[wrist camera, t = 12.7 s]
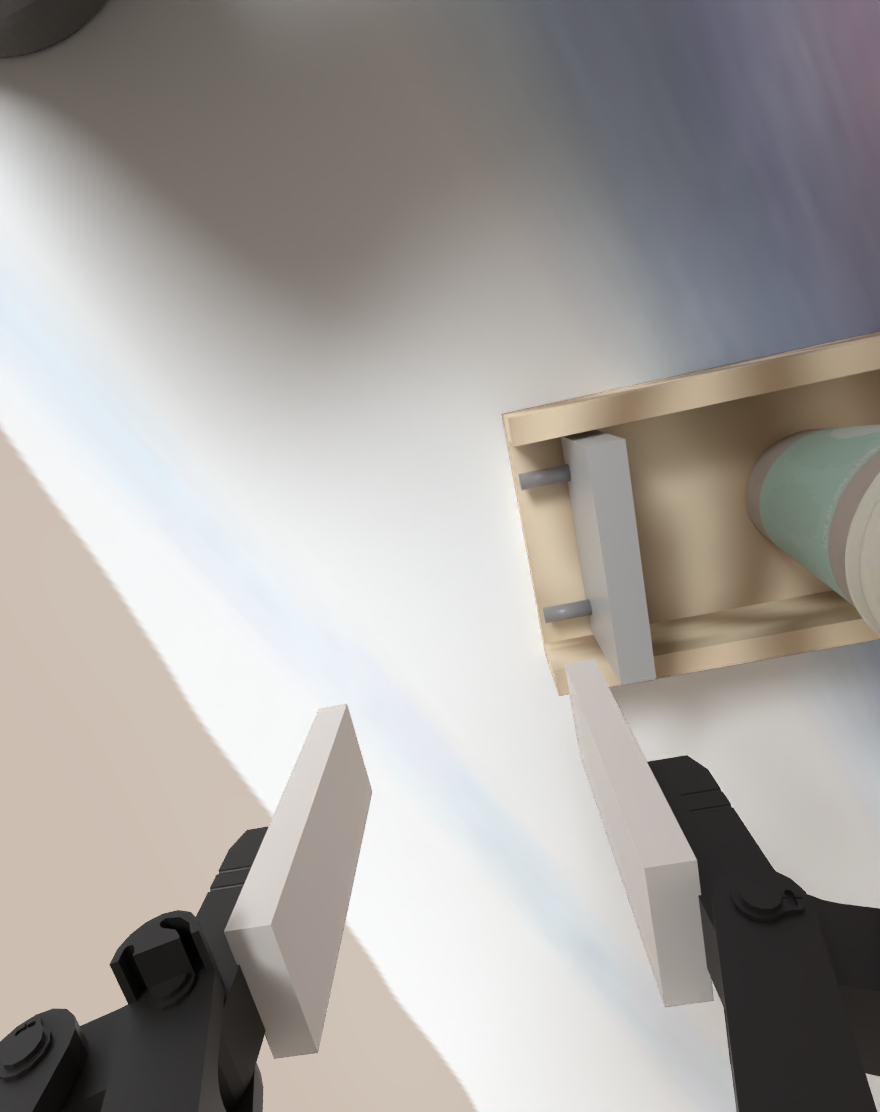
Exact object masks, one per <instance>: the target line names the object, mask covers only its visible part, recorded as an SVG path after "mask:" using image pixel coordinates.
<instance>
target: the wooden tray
mask: <svg viewBox="0 0 880 1112" xmlns="http://www.w3.org/2000/svg"><path fill="white" fill-rule="evenodd" d="M502 418H503V424H504V429H505V435H506V440H507V446H508V451H509V457H510V462H511V468H512V473H513V479H514V484H515V489H516V495H517V500H518V506H519V511H520V517H521V522H522V528H523V533H524V539H525V544H526V550H527V555H528V561H529V566H530V572H531V577H532V583H533V588H534V594H535V599H536V605H537V610H538V616H539V621H540V627H541V632H542V638H543V643H544V649H545V654H546V658H547V661H548V664H549V667H550V670H551V673H552V676H553V679H554V682H555V685H556V688H557V691H558V694H559V696H562V695H568V694H570V693H569V687H568V682H567V676H566V670H565V664H569V663H575V662H580V661H586V660H591V659H595V661H596V663H597V665H598V667H599V669H600V671H601V673H602V675H603V677H604V678H605V680H606V682H607V684H608V686H609V687H613V686H619V685H621V684H620V682H619V680H618V678H617V677H616V675H615V673H614V671H613V669H612V668H611V666H610V664H609V662H608V660H607V659H606V657H605V655H604V653H603V651H602V650H601V648H600V646H599V644H598V642H597V641H596V639H595V637H594V635H593V633H592V632H591V628H590V621H589V616H584V617H578V618H573V619H568V620H562V621H557V622H552V623H545V620H544V615H543V609H542V608H546V607H551V606H556V605H562V604H567V603H572V602H577V601H583V600H586V596H585V590H584V583H583V577H582V571H581V564H580V558H579V552H578V545H577V539H576V533H575V526H574V520H573V514H572V507H571V501H570V495H569V488H568V482H567V481H565V482H560V483H556V484H551V485H546V486H541V487H536V488H531V489H527V490H521V487H520V482H519V475H518V474H521V473H526V472H531V471H536V470H540V469H545V468H550V467H555V466H560V465H564V464H565V463H564V457H563V450H562V444H561V438H560V437H562V436H567V435H572V434H577V433H581V432H586V431H591V430H597V431H601V432H604V433H607V434H611V435H614V436H617V437H620V438H624V439H625V440H626V447H627V455H628V463H629V471H630V478H631V486H632V494H633V502H634V509H635V517H636V525H637V533H638V540H639V548H640V556H641V564H642V571H643V579H644V587H645V595H646V602H647V610H648V618H649V626H650V633H651V641H652V649H653V657H654V664H655V672H656V679H658V678H664V677H670V676H675V675H681V674H686V673H692V672H698V671H703V670H709V669H715V668H720V667H726V666H732V665H737V664H743V663H749V662H754V661H760V660H766V659H771V658H777V657H782V656H788V655H794V654H799V653H805V652H811V651H816V650H822V649H828V648H833V647H839V646H845V645H850V644H856V643H861V642H867V641H873V640H878V639H880V636H879V635H877V634H876V633H875V632H874V631H873V630H872V629H871V628H870V627H869V626H868V625H867V624H866V622H865V621H864V620H863V618H862V617H861V616H860V614H859V613H858V611H857V609H856V607H855V606H853V605H852V604H851V603H849V602H848V601H847V600H846V599H844V598H843V597H842V596H840V595H839V594H838V593H837V592H835V591H834V590H833V589H831V588H830V587H829V586H828V585H826V584H825V583H824V582H822V581H821V580H820V579H818V578H817V577H816V576H815V575H813V574H812V573H811V572H809V571H808V570H807V569H806V568H804V567H803V566H802V565H800V564H799V563H798V562H797V561H795V560H794V559H793V558H791V557H790V556H789V555H788V554H786V553H785V552H784V551H782V550H781V549H780V548H779V547H777V546H776V545H775V544H774V543H772V542H771V541H770V540H769V539H767V538H766V537H765V536H764V535H762V534H761V533H760V532H759V531H758V530H757V528H756V527H755V526H754V524H753V523H752V521H751V519H750V517H749V514H748V510H747V505H746V489H747V484H748V480H749V477H750V475H751V472H752V470H753V468H754V466H755V465H756V463H757V462H758V460H759V459H760V458H761V456H762V455H763V454H764V453H765V452H766V451H767V450H768V449H769V448H770V447H771V446H773V445H774V444H775V443H777V442H778V441H779V440H781V439H783V438H785V437H787V436H789V435H791V434H794V433H797V432H800V431H805V430H812V429H825V428H836V427H850V426H864V425H878V424H880V332H875V333H871V334H866V335H862V336H857V337H852V338H848V339H843V340H839V341H834V342H830V343H825V344H820V345H816V346H811V347H807V348H802V349H798V350H793V351H788V352H784V353H779V354H775V355H770V356H766V357H761V358H756V359H752V360H747V361H743V362H738V363H733V364H729V365H724V366H720V367H715V368H711V369H706V370H701V371H697V372H692V373H688V374H683V375H679V376H674V377H669V378H665V379H660V380H656V381H651V382H647V383H642V384H637V385H633V386H628V387H624V388H619V389H615V390H610V391H605V392H601V393H596V394H592V395H587V396H582V397H578V398H573V399H569V400H564V401H560V402H555V403H550V404H546V405H541V406H537V407H532V408H528V409H523V410H518V411H514V412H509V413H505V414H502Z"/></svg>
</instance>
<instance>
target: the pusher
mask: <svg viewBox="0 0 880 1112" xmlns="http://www.w3.org/2000/svg"><path fill="white" fill-rule="evenodd" d="M560 438H561V444H562V450H563V457H564V463H565V464H564V465H560V466H555V467H550V468H545V469H540V470H536V471H531V472H526V473H521V474H518V475H519V482H520V487H521V490H527V489H531V488H536V487H541V486H546V485H551V484H556V483H560V482H565V481H567V482H568V488H569V495H570V501H571V507H572V514H573V520H574V526H575V533H576V539H577V545H578V552H579V558H580V564H581V571H582V577H583V583H584V590H585V596H586V600H583V601H577V602H572V603H567V604H562V605H556V606H551V607H546V608H542V609H543V615H544V620H545V623H552V622H557V621H562V620H568V619H573V618H578V617H584V616H589V621H590V628H591V632H592V633H593V635H594V637H595V639H596V641H597V642H598V644H599V646H600V648H601V650H602V651H603V653H604V655H605V657H606V659H607V660H608V662H609V664H610V666H611V668H612V669H613V671H614V673H615V675H616V677H617V678H618V680H619V682H620V684H621V686H622V685H627V684H633V683H639V682H644V681H650V680H656V672H655V664H654V657H653V649H652V641H651V633H650V626H649V618H648V610H647V602H646V595H645V587H644V579H643V571H642V564H641V556H640V548H639V540H638V533H637V525H636V517H635V509H634V502H633V494H632V486H631V478H630V471H629V463H628V455H627V447H626V440H625V439H624V438H620V437H617V436H614V435H611V434H607V433H604V432H601V431H597V430H591V431H586V432H581V433H577V434H572V435H567V436H562V437H560Z"/></svg>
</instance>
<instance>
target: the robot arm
mask: <svg viewBox="0 0 880 1112" xmlns="http://www.w3.org/2000/svg"><path fill="white" fill-rule="evenodd" d="M105 2H106V0H0V57H12V56H19V55H24V54H28V53H33V52H36V51H39V50H42V49H45V48H47V47H49V46H51V45H54V44H56V43H58V42H59V41H61V40H63V39H65V38H66V37H68V36H70V35H71V34H72V33H74V32H75V31H77V30H78V29H79V28H80V27H82V26H83V25H84V24H85V23H86V22H87V21H89V20H90V18H91V17H92V16H93V15H94V14H95V13H96V12H97V11H98V10H99V9H100V8H101V6H102V5H103V4H104V3H105ZM565 670H566V676H567V682H568V687H569V693H570V699H571V704H572V710H573V716H574V722H575V727H576V733H577V739H578V745H579V750H580V756H581V759H582V762H583V765H584V768H585V771H586V774H587V777H588V780H589V783H590V786H591V789H592V792H593V795H594V798H595V801H596V804H597V807H598V810H599V813H600V816H601V819H602V822H603V825H604V828H605V831H606V833H607V836H608V839H609V842H610V845H611V848H612V851H613V854H614V857H615V860H616V863H617V866H618V869H619V872H620V875H621V878H622V881H623V884H624V887H625V890H626V893H627V896H628V899H629V902H630V905H631V908H632V911H633V914H634V917H635V920H636V922H637V925H638V928H639V931H640V934H641V937H642V940H643V943H644V946H645V949H646V952H647V955H648V958H649V961H650V964H651V967H652V970H653V973H654V976H655V979H656V982H657V985H658V988H659V991H660V994H661V997H662V1000H663V1003H664V1006H665V1007H670V1006H678V1005H685V1004H693V1003H700V1002H708V1001H714V997H713V989H712V981H713V983H714V985H715V988H716V990H717V992H718V995H719V997H720V999H721V1002H722V1004H723V1006H724V1013H725V1022H726V1030H727V1039H728V1048H729V1057H730V1064H731V1070H732V1078H733V1086H734V1094H735V1101H736V1109H737V1112H877V1110H876V1107H875V1103H874V1100H873V1097H872V1094H871V1090H870V1087H869V1084H868V1081H867V1077H866V1074H865V1073H867V1074H872V1075H876V1076H880V909H878V908H870V907H862V906H854V905H846V904H839V903H834V902H829V901H824V900H821V899H818V898H816V897H813V896H810V895H808V894H806V892H805V891H804V890H803V889H802V888H801V887H800V886H798V885H797V884H796V883H795V882H794V881H793V880H791V879H790V878H788V877H786V876H784V875H782V874H780V873H778V872H776V871H775V870H774V869H773V867H772V866H771V865H770V863H769V861H768V860H767V858H766V857H765V855H764V854H763V852H762V851H761V849H760V848H759V846H758V845H757V843H756V842H755V840H754V839H753V837H752V836H751V834H750V833H749V831H748V830H747V828H746V827H745V825H744V824H743V822H742V821H741V819H740V817H739V816H738V814H737V813H736V811H735V810H734V808H732V807H731V804H730V802H729V801H728V799H727V798H726V796H725V795H724V793H723V792H721V790H720V787H719V786H718V784H717V783H716V781H715V780H714V778H713V776H712V775H711V773H710V772H709V770H708V769H706V768H705V767H703V766H702V765H700V764H699V763H698V762H696V761H695V760H693V759H692V758H690V757H689V756H687V755H686V756H680V757H674V758H668V759H662V760H656V761H650V762H647V761H646V759H645V757H644V755H643V753H642V751H641V749H640V747H639V745H638V743H637V741H636V739H635V737H634V735H633V733H632V731H631V730H630V728H629V726H628V724H627V722H626V720H625V718H624V716H623V714H622V712H621V710H620V708H619V706H618V704H617V702H616V700H615V698H614V696H613V694H612V692H611V690H610V688H609V686H608V684H607V682H606V680H605V678H604V677H603V675H602V673H601V671H600V669H599V667H598V665H597V663H596V661H595V659H591V660H586V661H580V662H575V663H569V664H565ZM371 795H372V789H371V786H370V782H369V779H368V775H367V772H366V768H365V765H364V762H363V758H362V755H361V751H360V748H359V744H358V741H357V737H356V734H355V730H354V727H353V723H352V720H351V716H350V713H349V710H348V706H347V704H344V705H338V706H333V707H327V708H322V709H319V710H318V712H317V715H316V717H315V719H314V722H313V724H312V726H311V729H310V731H309V733H308V736H307V738H306V740H305V743H304V745H303V747H302V750H301V752H300V755H299V757H298V759H297V762H296V764H295V766H294V769H293V771H292V773H291V776H290V778H289V780H288V783H287V785H286V787H285V790H284V792H283V794H282V797H281V799H280V801H279V804H278V806H277V808H276V811H275V813H274V815H273V818H272V820H271V823H270V825H269V827H263V828H257V829H251V830H247V831H246V832H245V833H244V834H243V835H242V836H241V837H240V838H239V839H238V841H237V842H236V843H235V844H234V845H233V846H232V847H231V848H230V849H229V851H228V853H227V855H226V857H225V859H224V861H223V863H222V865H221V867H220V869H219V874H218V875H216V877H215V879H214V881H213V884H212V885H211V887H210V889H211V890H210V892H208V894H207V896H206V898H205V900H204V902H203V904H202V906H201V908H200V910H199V912H198V914H197V916H196V917H195V916H194V915H193V914H192V913H191V912H186V911H179V910H178V911H173V912H169V913H165V914H162V915H160V916H158V917H156V918H154V919H152V920H150V921H148V922H146V923H145V924H144V925H142V926H141V927H140V928H138V929H137V930H136V931H134V932H133V933H132V934H131V935H130V936H129V937H128V938H127V939H126V940H125V941H124V942H123V944H122V945H121V946H120V947H119V948H118V949H117V951H116V953H115V955H114V957H113V959H112V961H111V963H110V966H111V968H112V970H113V973H114V975H115V977H116V979H117V981H118V983H119V985H120V987H121V989H122V991H123V994H124V996H125V998H126V1000H127V1002H128V1005H126V1006H124V1007H122V1008H120V1009H118V1010H116V1011H114V1012H111V1013H109V1014H107V1015H105V1016H102V1017H100V1018H98V1019H96V1020H93V1021H91V1022H89V1023H87V1024H84V1025H82V1026H79V1024H78V1022H77V1020H76V1018H75V1016H74V1015H73V1014H72V1013H71V1012H69V1011H68V1010H67V1009H51V1010H48V1011H46V1012H43V1013H40V1014H37V1015H35V1016H34V1017H32V1018H30V1019H29V1020H27V1021H26V1022H24V1023H22V1024H21V1025H19V1026H18V1027H16V1028H15V1029H14V1030H13V1031H12V1032H11V1033H10V1034H8V1035H7V1036H6V1037H5V1038H4V1039H3V1040H2V1041H1V1042H0V1112H262V1110H263V1084H262V1078H261V1073H260V1070H259V1068H258V1066H257V1063H256V1061H257V1058H258V1055H259V1051H260V1048H261V1044H262V1041H263V1038H264V1034H265V1036H266V1039H267V1042H268V1044H269V1047H270V1049H271V1052H272V1054H273V1057H274V1059H275V1058H283V1057H290V1056H297V1055H306V1054H313V1053H318V1050H319V1045H320V1041H321V1035H322V1031H323V1026H324V1021H325V1016H326V1012H327V1007H328V1002H329V997H330V992H331V987H332V983H333V978H334V973H335V968H336V963H337V958H338V954H339V949H340V944H341V939H342V934H343V930H344V925H345V920H346V915H347V911H348V906H349V901H350V896H351V891H352V886H353V882H354V877H355V872H356V867H357V862H358V858H359V853H360V848H361V843H362V838H363V833H364V829H365V824H366V819H367V814H368V809H369V805H370V800H371ZM711 979H712V981H711Z"/></svg>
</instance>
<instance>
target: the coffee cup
mask: <svg viewBox="0 0 880 1112" xmlns="http://www.w3.org/2000/svg"><path fill="white" fill-rule="evenodd" d="M746 505H747V510H748V514H749V517H750V519H751V521H752V523H753V524H754V526H755V527H756V528H757V530H758V531H759V532H760V533H761V534H762V535H764V536H765V537H766V538H767V539H769V540H770V541H771V542H772V543H774V544H775V545H776V546H777V547H779V548H780V549H781V550H782V551H784V552H785V553H786V554H788V555H789V556H790V557H791V558H793V559H794V560H795V561H797V562H798V563H799V564H800V565H802V566H803V567H804V568H806V569H807V570H808V571H809V572H811V573H812V574H813V575H815V576H816V577H817V578H818V579H820V580H821V581H822V582H824V583H825V584H826V585H828V586H829V587H830V588H831V589H833V590H834V591H835V592H837V593H838V594H839V595H840V596H842V597H843V598H844V599H846V600H847V601H848V602H849V603H851V604H852V605H853V606H855V607H856V609H857V611H858V613H859V614H860V616H861V617H862V618H863V620H864V621H865V622H866V624H867V625H868V626H869V627H870V628H871V629H872V630H873V631H874V632H875V633H876V634H877V635H879V636H880V424H878V425H864V426H850V427H836V428H825V429H812V430H805V431H800V432H797V433H794V434H791V435H789V436H787V437H785V438H783V439H781V440H779V441H778V442H777V443H775V444H774V445H773V446H771V447H770V448H769V449H768V450H767V451H766V452H765V453H764V454H763V455H762V456H761V458H760V459H759V460H758V462H757V463H756V465H755V466H754V468H753V470H752V472H751V475H750V477H749V480H748V484H747V489H746Z"/></svg>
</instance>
